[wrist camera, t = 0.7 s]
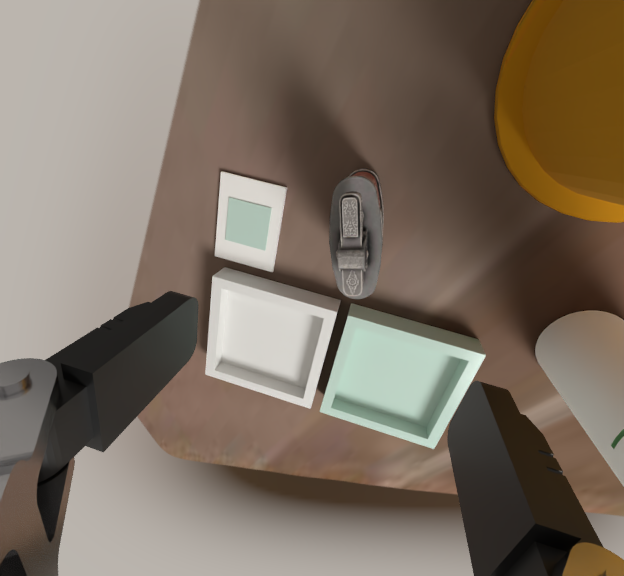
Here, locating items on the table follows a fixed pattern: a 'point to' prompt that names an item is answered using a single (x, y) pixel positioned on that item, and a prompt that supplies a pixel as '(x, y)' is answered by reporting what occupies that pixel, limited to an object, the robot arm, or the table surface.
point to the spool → (566, 106)
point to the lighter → (357, 233)
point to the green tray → (399, 375)
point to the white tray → (268, 335)
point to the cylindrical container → (590, 376)
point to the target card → (249, 220)
